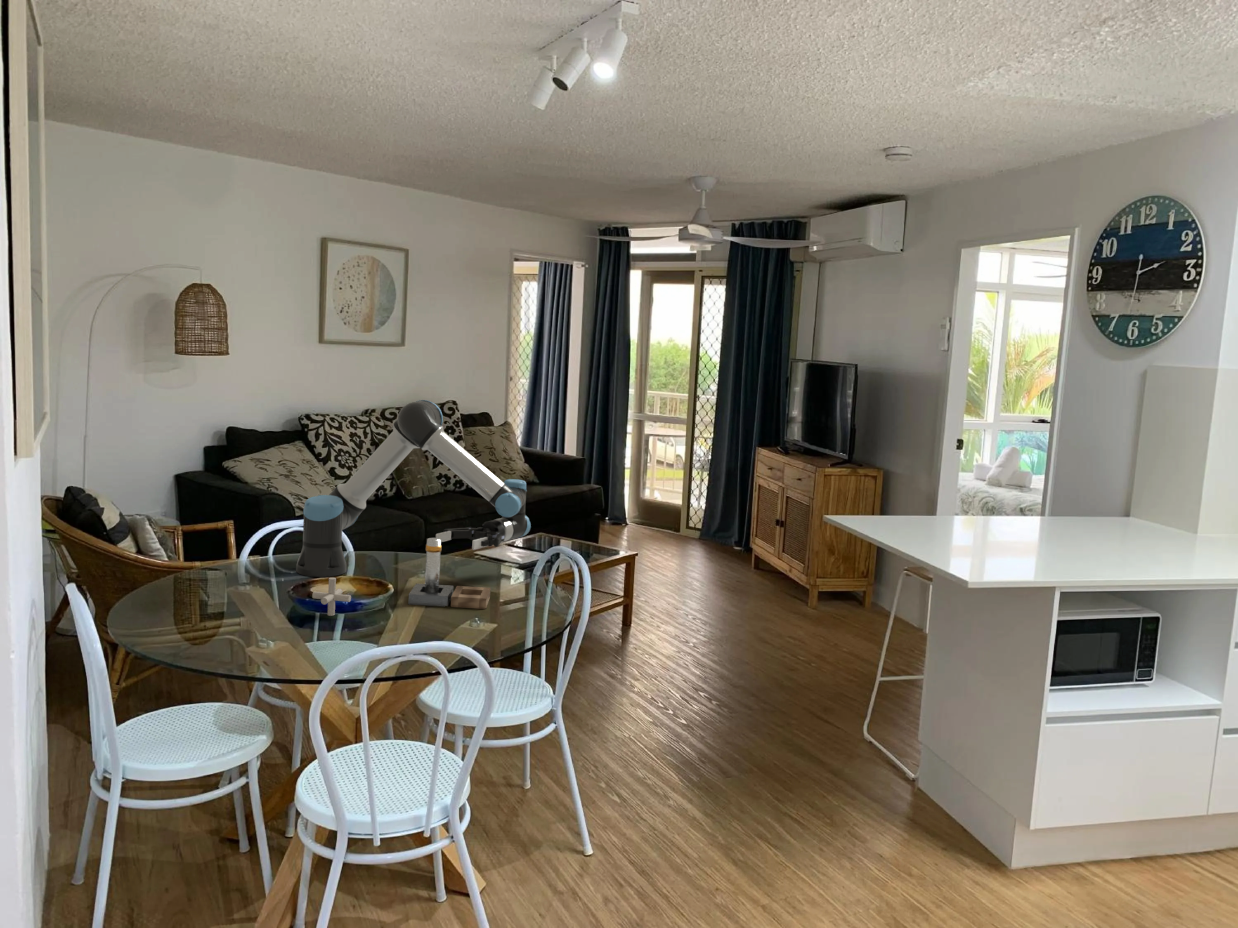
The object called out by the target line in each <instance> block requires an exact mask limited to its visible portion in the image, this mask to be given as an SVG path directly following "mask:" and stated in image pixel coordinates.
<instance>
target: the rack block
mask: <svg viewBox="0 0 1238 928" xmlns="http://www.w3.org/2000/svg"><path fill="white" fill-rule="evenodd" d="M491 590H492V588H491V587H481V586H479V587H478V586H464V585H463V586H462V585H457V586H456V587H455V589H453V594H452V596H451V600H450V607H451V608H463V609H465V608H466V609H481V610H484V609H485V610H487V607H488V604H489V601H490V598H491Z"/></svg>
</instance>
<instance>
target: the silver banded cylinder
mask: <svg viewBox="0 0 1238 928" xmlns="http://www.w3.org/2000/svg"><path fill="white" fill-rule="evenodd" d="M425 552H426V556H425V557H426V559H425V574H424V575H425V577H424V584H425V592H430V593H439V585H440V572H441V571H440V570H441V553H442V542H441V539H439V538H436V537H429V538H426V544H425Z"/></svg>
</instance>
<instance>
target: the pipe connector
mask: <svg viewBox="0 0 1238 928" xmlns="http://www.w3.org/2000/svg"><path fill="white" fill-rule="evenodd" d="M336 582H337V578H336V577H329V578H328V591H327V592H321V591H313V592H312V599H317V600H319V599H320V602H321V604H322V605H327V616H328V617H329V616H330V617H331V616H335V614H336V611H335V610H336V601H337V602H346V603H347V602H348V603H350V602H351V601H352V595H350V594H343V592H344V591H343V589H341V588H337V585H336V584H337V583H336ZM336 588H337V589H336Z"/></svg>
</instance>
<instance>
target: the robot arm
mask: <svg viewBox="0 0 1238 928" xmlns="http://www.w3.org/2000/svg"><path fill="white" fill-rule="evenodd" d="M443 418H444V417H443V413H442V410H441V408H440V407H439V406H438V405H437V404H436V403H434V402H432V401H430V400H426V399H419V400H417V401H414V402H409V403H407V404H405V405H404V406H402V408H401V409H400V411H399V413H398V415H397V419H396V420H395V421H394V423H392V432H391V433H390V434H389V435H388V436H387V437H386V438H385V440H383V442H382V443H381V444H380V445H379V446H378V447H377V448H376V449H375V451H374V452H372V454H371V455H370V456H369V457H367V459H366V461H364V463H362V464H361V466H360V467H359V468H358V469H357V470H356V471H355V472H354V474H352V476H351V477H350V478H349V479H348V480H347V481H346V483H339V484H337V486H336V487H334V489H333V490H331V492H330V493H329V494H321V495H320V494H319V495H316V496H315V495H314V496H310V497H309V498H308V499H306V500H305V502H304V506H303V509H302V510H303V511H302V512H303V520H302V521H303V522H302V523H303V527H302V548H301V550H300V551H301V552H300V554H299V556H298V559H297V562H296V565H295V572H296V573H297V574H299V575H302V576H305V577H306V576H307V577H315V578H316V577H317V578H322V577H323V578H324V577H325V578H326V577H336V576H339V575H343V574H345V573H347V562H346V558H345V555H344V552H343V548H342V544H343V543H342V541H343V540H342V539H343V537H342V536H343V530H345V529H348V528H349V527H351V526H353V525H354V524H355V522H356V521H357V520H358V518H359V516H360V515H361V513H363V512H364V510H365V509H366V508H367V500H368V499H369V498H370V497H371V496H372V494H373V493H374V492H375V491H376V490H377V489H378V488H379V487H380V486H382V485H381V484H383V483H384V481H385V480H386V479H387V478H388V477H389V476H390V475H391V474H392V473H393V471H395V470H396V468H397V467H399V465H400V464H401V463H403V461H404V459H406V458H407V456H408V455H409V454H410V453H411V452H412V451H413V450H414V449H421V450H422V451H429V452H430V454H432V455H433V456H434V457H436V458H437V459H438V460H439V461H440V462H441V463H443V464H444V465H445V466H446V467H447V468H449V470H451V471H452V472H453V473H454V474H455V475H457V476H458V477H459V478H460V479H461V480H463V481H464V482H465V483H466V484H467V485H469V486H470V487H471V488H472V489H473V490H475V491H476V492H477V493H478V494H479V495H480V496H482V497H483V498H484V499H485V500H486V501H488V502H489V503H490V504H491V505H492V506H493V507H494V508H495V510H496V512H497V513H498V515H500V516H501V518H500V517H499V518H496V519H493V520H488V521H485V522H483V523H482V524H481V526H479V527H477V528H476V527H472V526H468V527H456V528H445V529H443V532H438V533H436V534H435V538H439V539H441V543H444V542H450V541H451V540H452V539H453V540H455V539H456V540H457V539H469V540H471V541H472V546H471V549H472V550H473V551H475V550H479V549H482V548H485V547H492V546H493V547H495V548H498V547H499V546H500V545H501V544H502V543H503V542H507V541H511V540H515V539H519V538H523V537H524V536H526V535H527V534H529V532H530V531H531V528H532V526H531V525H532V524H531V521H530V518H529V517H528V516H527V515H526V503H527V502H526V501H527V492H528V490H527V482H526V481H525V480H522V479H517V478H516V479H515V478H514V479H513V478H510V479H505V480H504V481H503V480H501V479H500V477H497V475H496V474H494V473H493V472H492V471H490V470H489V469H488V468H487V467H486V466H485V465H484V464H483V463H481V462H480V461H479V460H478V459H476V458H475V457H474V456H473V455H472V454H470V452H468V451H467V450H466V449H465V448H463V446H461V444H459V443H458V442H457V441H456V440H454V439H453V438H452V437H451V436H450V435H448V434H447V433H446V432H445V431H444V426H443V422H444V419H443Z"/></svg>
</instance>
